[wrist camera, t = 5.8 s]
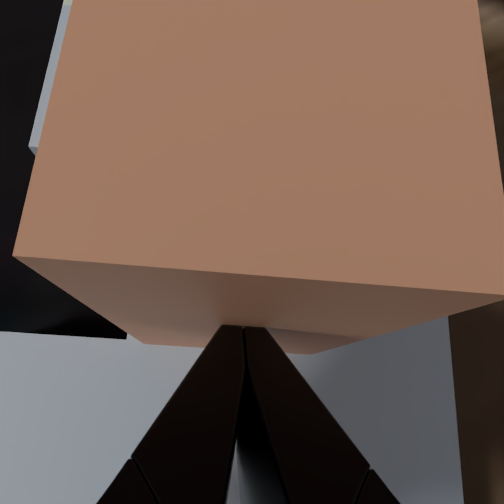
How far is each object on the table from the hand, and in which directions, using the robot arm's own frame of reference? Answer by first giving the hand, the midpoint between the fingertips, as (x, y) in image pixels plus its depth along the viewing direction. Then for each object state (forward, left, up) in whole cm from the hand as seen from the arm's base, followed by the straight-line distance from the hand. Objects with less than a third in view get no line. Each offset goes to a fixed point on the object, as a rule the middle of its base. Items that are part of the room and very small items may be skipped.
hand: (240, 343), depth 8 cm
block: (+3, -4, -5) cm, 7 cm away
